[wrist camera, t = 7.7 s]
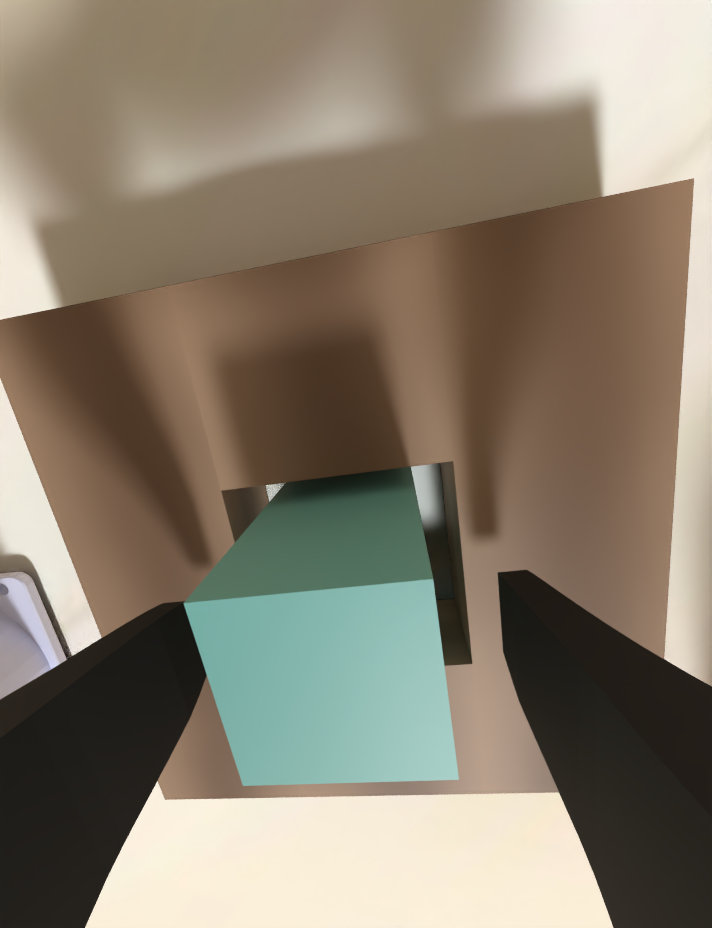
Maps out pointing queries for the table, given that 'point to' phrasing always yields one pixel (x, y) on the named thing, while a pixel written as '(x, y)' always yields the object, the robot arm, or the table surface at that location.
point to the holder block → (384, 436)
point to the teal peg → (329, 638)
